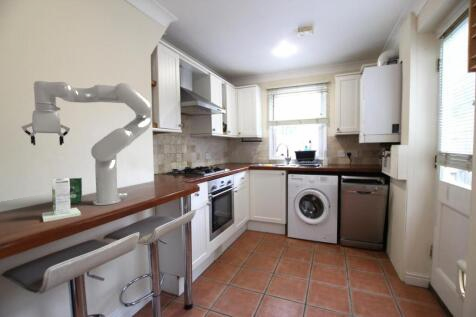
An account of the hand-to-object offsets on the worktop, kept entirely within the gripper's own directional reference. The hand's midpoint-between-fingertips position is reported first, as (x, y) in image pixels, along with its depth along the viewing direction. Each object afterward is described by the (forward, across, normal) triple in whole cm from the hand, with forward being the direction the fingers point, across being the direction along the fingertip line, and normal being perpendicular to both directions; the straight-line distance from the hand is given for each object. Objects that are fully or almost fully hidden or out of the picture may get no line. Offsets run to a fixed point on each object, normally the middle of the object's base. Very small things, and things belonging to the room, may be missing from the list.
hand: (48, 145), depth 104 cm
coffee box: (+31, -9, -4) cm, 32 cm away
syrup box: (+29, -2, +19) cm, 35 cm away
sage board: (+30, -2, +19) cm, 36 cm away
